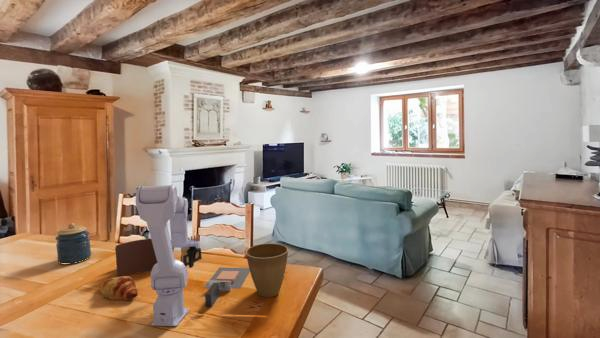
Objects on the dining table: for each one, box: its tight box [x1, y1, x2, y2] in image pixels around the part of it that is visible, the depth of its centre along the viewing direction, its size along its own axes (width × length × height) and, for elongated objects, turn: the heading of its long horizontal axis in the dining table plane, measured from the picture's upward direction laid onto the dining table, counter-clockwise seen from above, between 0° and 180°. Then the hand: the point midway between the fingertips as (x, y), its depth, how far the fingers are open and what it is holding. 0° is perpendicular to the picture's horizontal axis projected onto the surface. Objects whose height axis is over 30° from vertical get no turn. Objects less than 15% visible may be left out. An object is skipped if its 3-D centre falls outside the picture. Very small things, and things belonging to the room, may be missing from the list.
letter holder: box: [114, 238, 157, 277], centre depth 138 cm, size 10×20×14 cm, turn 113°
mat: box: [203, 266, 250, 290], centre depth 127 cm, size 18×14×1 cm
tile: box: [216, 271, 239, 283], centre depth 126 cm, size 2×7×7 cm
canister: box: [55, 222, 92, 264], centre depth 149 cm, size 13×13×18 cm
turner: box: [204, 279, 232, 308], centre depth 111 cm, size 12×8×5 cm
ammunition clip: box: [180, 233, 202, 267], centre depth 143 cm, size 11×2×12 cm, turn 153°
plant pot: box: [245, 242, 289, 298], centre depth 114 cm, size 15×15×16 cm
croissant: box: [100, 275, 138, 301], centre depth 116 cm, size 21×10×8 cm
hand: (181, 266), depth 116 cm, fingers open, 7 cm apart
